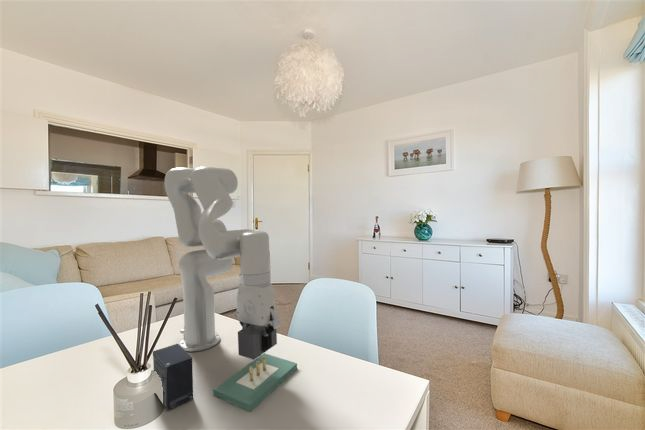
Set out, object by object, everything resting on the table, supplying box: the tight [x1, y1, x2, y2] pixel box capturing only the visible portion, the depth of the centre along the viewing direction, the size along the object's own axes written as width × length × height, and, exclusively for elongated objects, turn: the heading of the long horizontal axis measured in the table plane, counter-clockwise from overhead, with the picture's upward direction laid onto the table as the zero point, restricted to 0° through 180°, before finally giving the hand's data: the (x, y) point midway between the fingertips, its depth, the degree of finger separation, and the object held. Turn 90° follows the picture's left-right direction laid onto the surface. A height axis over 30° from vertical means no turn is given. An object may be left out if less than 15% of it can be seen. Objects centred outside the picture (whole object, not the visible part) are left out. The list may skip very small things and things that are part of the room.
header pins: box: [249, 357, 266, 381], centre depth 76 cm, size 1×6×4 cm, turn 151°
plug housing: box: [237, 321, 278, 361], centre depth 75 cm, size 5×9×6 cm, turn 151°
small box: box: [152, 343, 194, 412], centre depth 70 cm, size 11×6×10 cm, turn 45°
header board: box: [212, 352, 298, 412], centre depth 76 cm, size 12×19×2 cm, turn 151°
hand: (258, 346), depth 75 cm, fingers closed on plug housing, 5 cm apart
